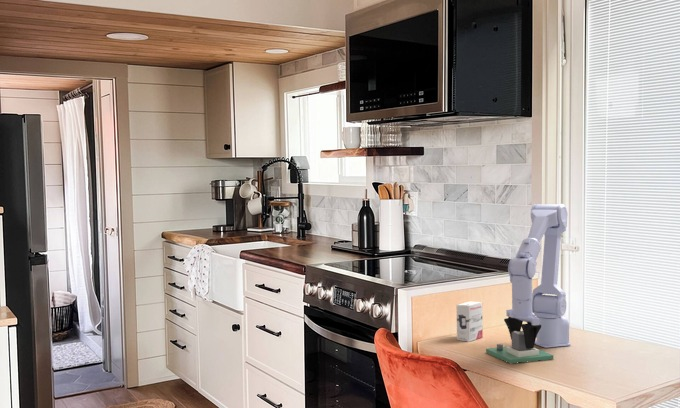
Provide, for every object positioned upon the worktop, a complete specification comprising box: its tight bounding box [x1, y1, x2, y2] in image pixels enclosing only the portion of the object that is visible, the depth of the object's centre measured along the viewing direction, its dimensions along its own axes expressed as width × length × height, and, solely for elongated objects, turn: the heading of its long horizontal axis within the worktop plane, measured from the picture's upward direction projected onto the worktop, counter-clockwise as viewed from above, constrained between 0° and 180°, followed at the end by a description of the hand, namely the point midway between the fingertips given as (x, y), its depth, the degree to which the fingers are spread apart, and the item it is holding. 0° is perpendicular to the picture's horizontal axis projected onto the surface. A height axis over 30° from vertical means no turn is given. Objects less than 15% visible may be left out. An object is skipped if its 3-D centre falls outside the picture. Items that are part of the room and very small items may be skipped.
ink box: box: [456, 300, 484, 343], centre depth 225 cm, size 8×5×12 cm, turn 137°
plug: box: [511, 330, 531, 351], centre depth 200 cm, size 4×4×6 cm
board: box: [485, 343, 554, 364], centre depth 203 cm, size 14×14×3 cm
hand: (522, 345), depth 201 cm, fingers open, 7 cm apart
